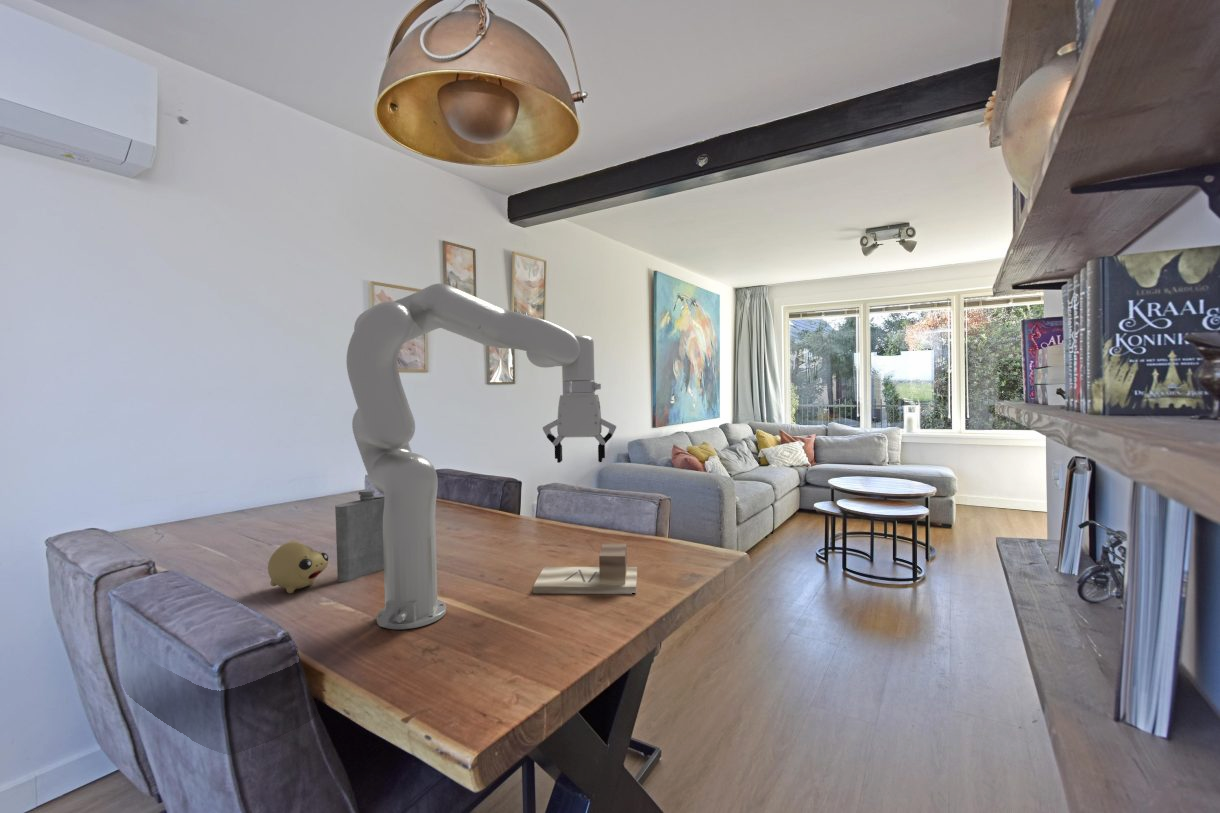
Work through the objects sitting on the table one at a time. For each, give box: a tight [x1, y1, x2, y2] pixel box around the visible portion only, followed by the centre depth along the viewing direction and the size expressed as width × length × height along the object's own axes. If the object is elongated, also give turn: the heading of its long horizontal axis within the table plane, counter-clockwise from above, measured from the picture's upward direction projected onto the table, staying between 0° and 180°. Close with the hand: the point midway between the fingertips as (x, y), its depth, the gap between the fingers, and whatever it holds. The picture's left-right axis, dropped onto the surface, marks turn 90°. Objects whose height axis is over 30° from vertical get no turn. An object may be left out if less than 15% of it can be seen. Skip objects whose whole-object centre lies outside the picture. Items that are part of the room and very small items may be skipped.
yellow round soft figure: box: [267, 540, 329, 594], centre depth 122 cm, size 10×12×11 cm
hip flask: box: [335, 488, 385, 583], centre depth 133 cm, size 16×4×20 cm, turn 145°
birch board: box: [532, 566, 638, 595], centre depth 123 cm, size 13×22×2 cm, turn 86°
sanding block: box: [598, 542, 628, 584], centre depth 122 cm, size 10×6×6 cm, turn 176°
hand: (580, 461), depth 129 cm, fingers open, 9 cm apart
